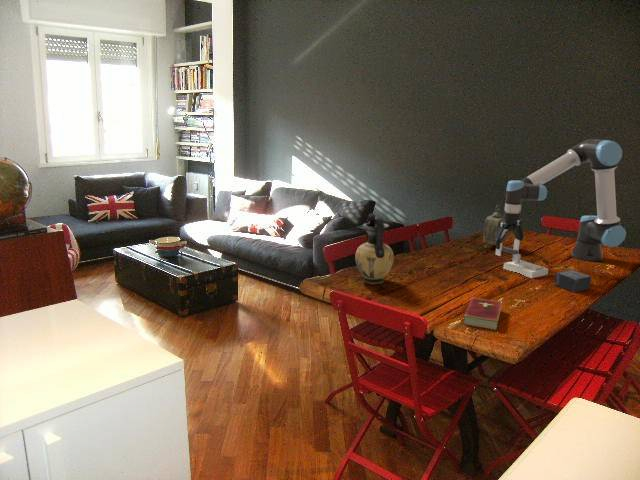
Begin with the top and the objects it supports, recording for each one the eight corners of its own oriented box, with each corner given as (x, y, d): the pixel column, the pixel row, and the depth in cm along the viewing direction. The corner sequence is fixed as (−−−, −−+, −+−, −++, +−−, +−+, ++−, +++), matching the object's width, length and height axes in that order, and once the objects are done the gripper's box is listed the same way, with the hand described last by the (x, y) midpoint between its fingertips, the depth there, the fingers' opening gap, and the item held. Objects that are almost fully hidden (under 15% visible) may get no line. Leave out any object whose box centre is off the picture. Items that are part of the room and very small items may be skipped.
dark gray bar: (494, 257, 273) (496, 246, 271) (502, 256, 276) (504, 245, 274) (535, 270, 253) (537, 258, 252) (543, 269, 256) (545, 257, 255)
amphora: (347, 276, 245) (350, 212, 237) (379, 273, 251) (383, 210, 244) (365, 289, 229) (369, 220, 222) (399, 285, 236) (404, 218, 228)
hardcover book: (462, 325, 196) (463, 314, 195) (470, 306, 215) (471, 296, 213) (496, 331, 191) (498, 320, 190) (501, 311, 210) (502, 301, 209)
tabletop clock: (490, 243, 313) (495, 201, 307) (505, 246, 308) (510, 203, 302) (481, 248, 302) (486, 205, 296) (497, 251, 297) (502, 207, 291)
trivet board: (503, 268, 265) (503, 262, 264) (519, 265, 271) (519, 259, 271) (531, 278, 252) (532, 272, 251) (547, 274, 258) (548, 268, 257)
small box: (553, 285, 242) (573, 293, 233) (555, 272, 241) (575, 279, 232) (570, 282, 247) (590, 289, 238) (571, 269, 245) (592, 275, 236)
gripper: (522, 208, 274) (516, 249, 279) (488, 212, 261) (484, 254, 266) (534, 211, 268) (529, 252, 273) (501, 215, 255) (496, 258, 260)
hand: (506, 253), depth 269 cm, fingers open, 13 cm apart
